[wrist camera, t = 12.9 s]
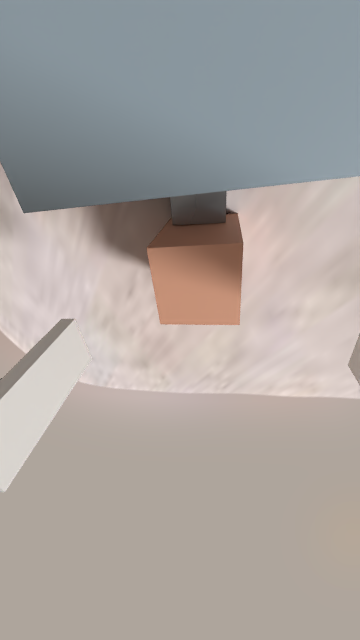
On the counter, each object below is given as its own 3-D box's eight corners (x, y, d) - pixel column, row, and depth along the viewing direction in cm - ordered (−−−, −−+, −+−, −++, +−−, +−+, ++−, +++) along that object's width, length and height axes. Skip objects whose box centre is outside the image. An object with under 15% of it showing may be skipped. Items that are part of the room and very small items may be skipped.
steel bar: (135, -344, 8) (98, -550, 6) (240, -395, 8) (247, -650, 5) (179, 215, 18) (172, 225, 16) (225, 212, 18) (225, 222, 15)
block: (170, 218, 18) (146, 248, 13) (237, 213, 17) (243, 243, 12) (177, 278, 21) (160, 324, 15) (235, 276, 20) (239, 324, 15)
